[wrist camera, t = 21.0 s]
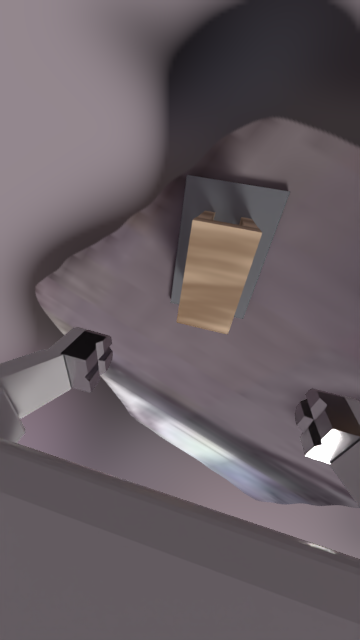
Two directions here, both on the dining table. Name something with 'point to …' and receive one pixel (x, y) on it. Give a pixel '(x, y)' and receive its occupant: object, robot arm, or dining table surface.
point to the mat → (229, 207)
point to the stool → (216, 271)
